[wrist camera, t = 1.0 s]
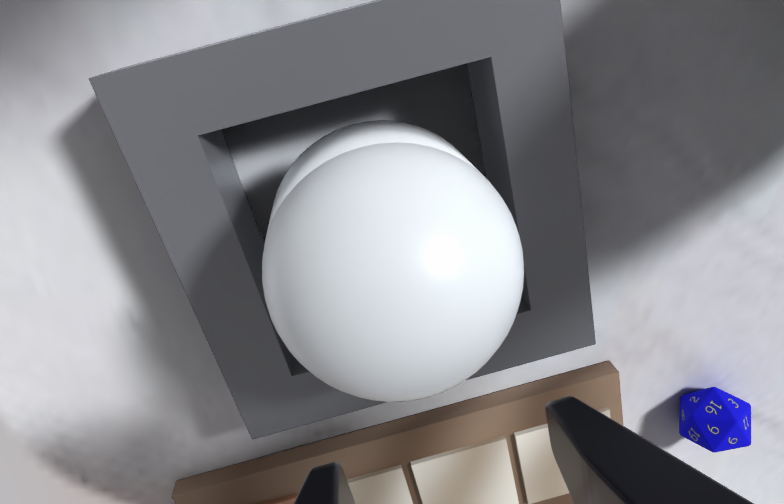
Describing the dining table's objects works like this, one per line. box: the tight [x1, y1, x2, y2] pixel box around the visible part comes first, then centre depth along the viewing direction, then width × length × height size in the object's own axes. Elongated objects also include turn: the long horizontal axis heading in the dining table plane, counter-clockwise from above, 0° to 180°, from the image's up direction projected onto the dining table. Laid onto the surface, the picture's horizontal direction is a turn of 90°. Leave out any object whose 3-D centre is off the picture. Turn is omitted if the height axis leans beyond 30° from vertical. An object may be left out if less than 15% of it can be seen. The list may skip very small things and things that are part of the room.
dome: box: [262, 120, 524, 402], centre depth 14 cm, size 6×6×6 cm
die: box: [679, 387, 751, 452], centre depth 24 cm, size 3×3×3 cm
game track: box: [172, 361, 623, 504], centre depth 24 cm, size 18×7×1 cm, turn 104°
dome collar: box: [89, 0, 596, 439], centre depth 18 cm, size 12×12×3 cm
